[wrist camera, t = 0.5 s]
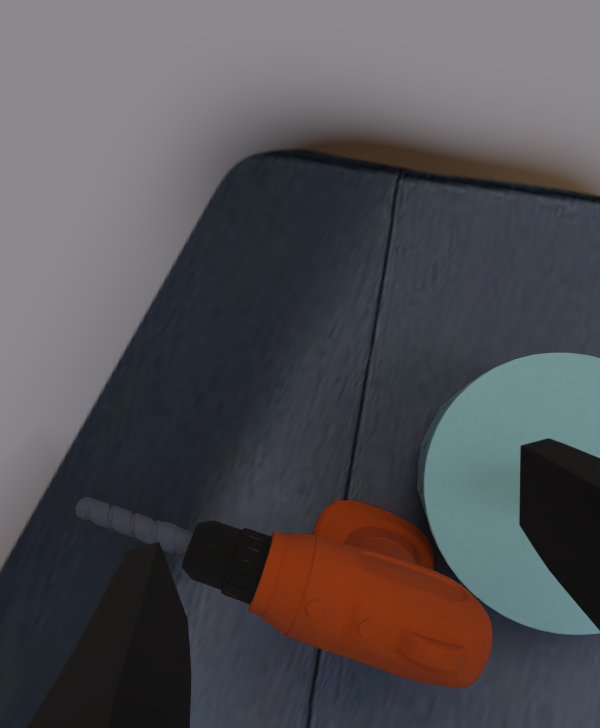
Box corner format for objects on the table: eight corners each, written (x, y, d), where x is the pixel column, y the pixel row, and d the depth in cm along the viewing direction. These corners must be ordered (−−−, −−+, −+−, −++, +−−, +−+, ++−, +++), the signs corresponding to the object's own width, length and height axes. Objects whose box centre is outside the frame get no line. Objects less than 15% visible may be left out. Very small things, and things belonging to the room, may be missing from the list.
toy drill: (164, 430, 34) (69, 457, 19) (438, 526, 34) (556, 628, 19) (138, 502, 34) (20, 587, 19) (414, 599, 34) (515, 761, 19)
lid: (760, 505, 27) (845, 524, 23) (549, 685, 27) (590, 740, 23) (563, 302, 29) (603, 280, 25) (367, 469, 29) (370, 479, 25)
